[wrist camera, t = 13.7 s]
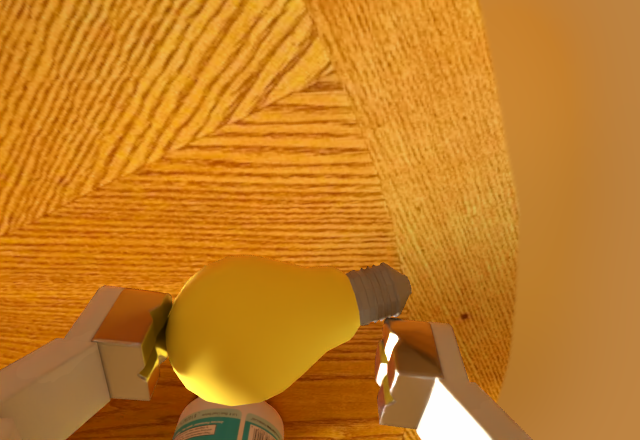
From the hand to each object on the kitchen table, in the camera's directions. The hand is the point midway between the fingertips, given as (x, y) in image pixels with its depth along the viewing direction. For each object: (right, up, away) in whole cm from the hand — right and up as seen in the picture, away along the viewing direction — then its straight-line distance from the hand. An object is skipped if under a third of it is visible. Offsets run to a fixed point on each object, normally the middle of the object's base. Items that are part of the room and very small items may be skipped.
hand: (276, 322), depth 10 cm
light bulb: (0, +1, +2) cm, 2 cm away
